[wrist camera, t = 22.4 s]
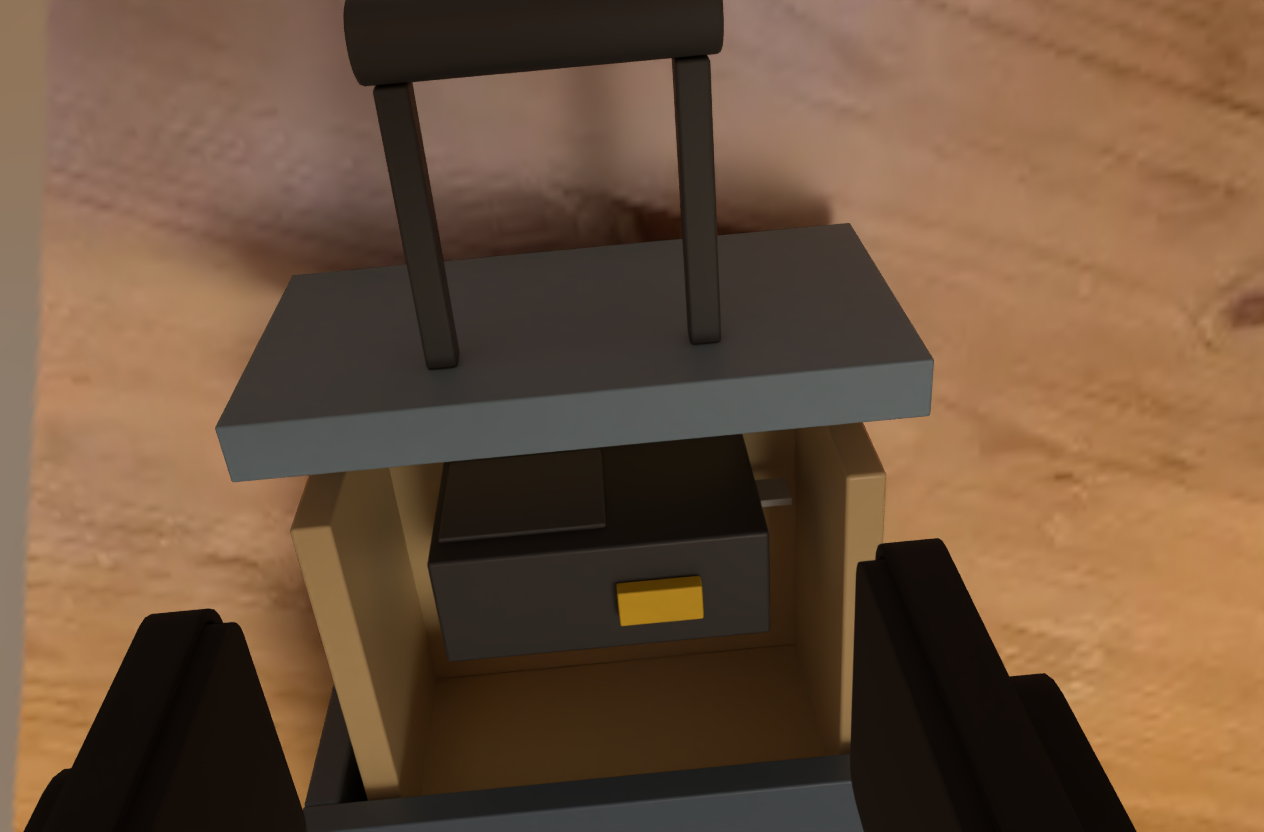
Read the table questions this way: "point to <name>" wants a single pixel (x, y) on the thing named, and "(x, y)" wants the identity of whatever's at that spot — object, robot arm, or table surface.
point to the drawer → (573, 428)
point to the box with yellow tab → (601, 548)
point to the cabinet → (592, 799)
